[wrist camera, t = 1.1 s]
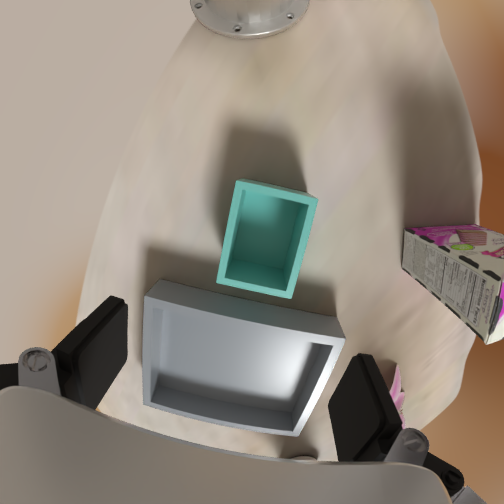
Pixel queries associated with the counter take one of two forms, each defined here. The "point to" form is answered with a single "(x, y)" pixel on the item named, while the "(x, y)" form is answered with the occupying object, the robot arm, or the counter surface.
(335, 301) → the counter surface
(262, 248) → the teal crate
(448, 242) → the candy bar box
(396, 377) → the lily
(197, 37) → the counter surface
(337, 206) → the counter surface
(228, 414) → the gray crate
